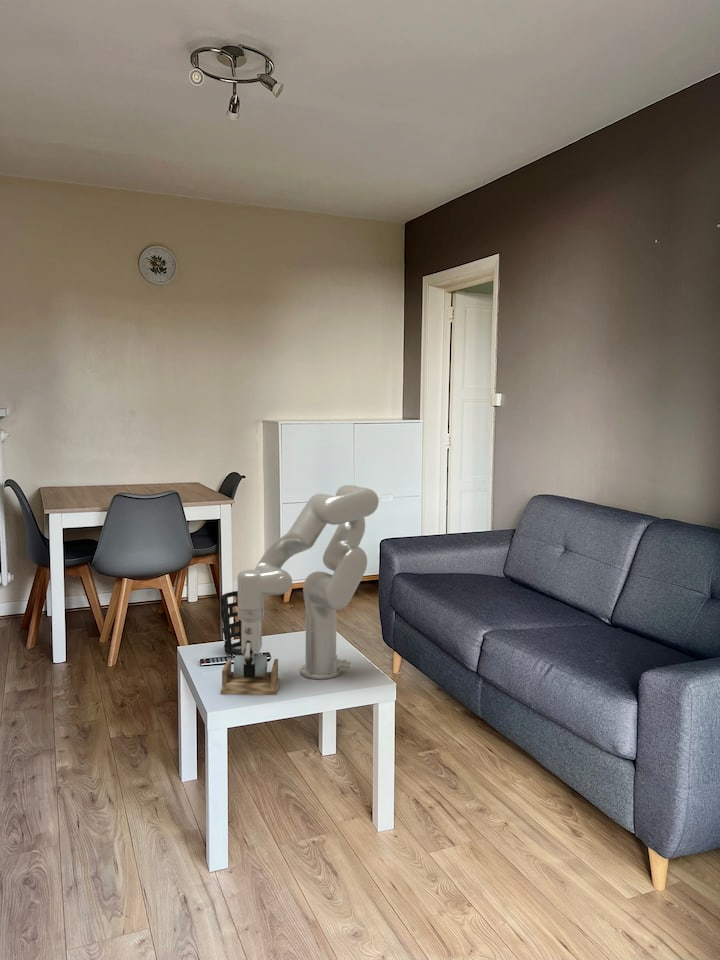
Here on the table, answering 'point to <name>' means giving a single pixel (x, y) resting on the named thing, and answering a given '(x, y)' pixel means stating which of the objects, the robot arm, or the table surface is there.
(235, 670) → the roll
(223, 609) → the holder
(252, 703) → the table surface
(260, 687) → the cradle
